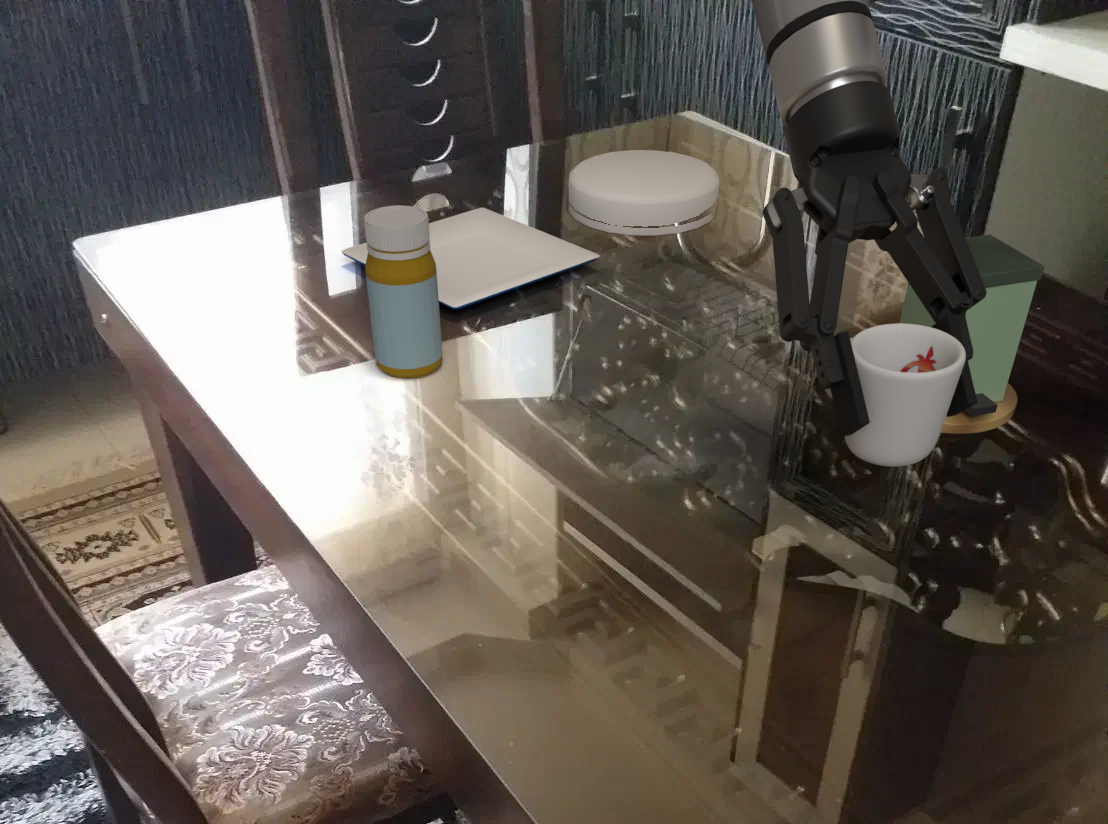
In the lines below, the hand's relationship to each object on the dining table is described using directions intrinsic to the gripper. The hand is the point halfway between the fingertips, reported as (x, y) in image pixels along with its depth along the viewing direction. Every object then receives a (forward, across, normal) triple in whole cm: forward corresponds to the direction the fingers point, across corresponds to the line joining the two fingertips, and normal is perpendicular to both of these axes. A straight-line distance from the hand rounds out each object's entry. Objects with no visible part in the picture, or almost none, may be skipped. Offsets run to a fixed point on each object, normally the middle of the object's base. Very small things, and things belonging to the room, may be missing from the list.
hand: (909, 419), depth 81 cm
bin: (-8, -23, -27) cm, 36 cm away
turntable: (-8, -23, -28) cm, 37 cm away
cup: (0, 0, -5) cm, 5 cm away
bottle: (-25, +25, -46) cm, 58 cm away
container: (-50, -16, -71) cm, 89 cm away
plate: (-42, +12, -62) cm, 76 cm away
